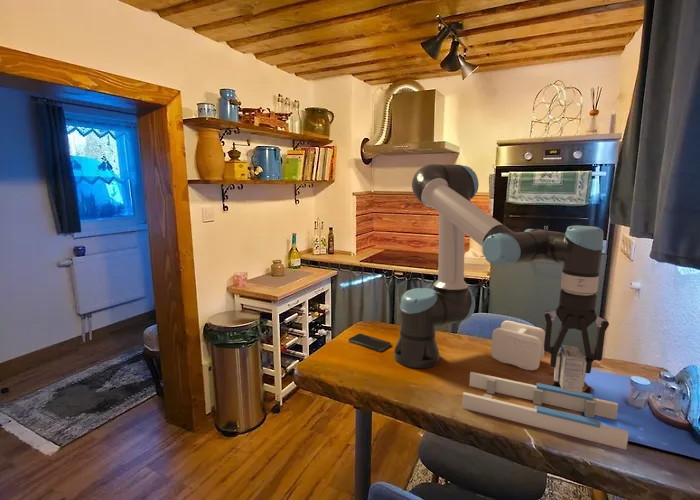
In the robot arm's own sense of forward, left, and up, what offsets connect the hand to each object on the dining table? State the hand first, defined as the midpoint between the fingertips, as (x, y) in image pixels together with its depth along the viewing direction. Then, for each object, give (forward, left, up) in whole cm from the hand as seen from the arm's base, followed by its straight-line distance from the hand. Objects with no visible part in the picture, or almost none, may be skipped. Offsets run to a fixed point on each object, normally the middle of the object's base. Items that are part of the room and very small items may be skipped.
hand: (568, 381), depth 94 cm
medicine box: (0, 0, -1) cm, 1 cm away
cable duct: (-6, 0, -10) cm, 12 cm away
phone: (-62, +20, -11) cm, 66 cm away
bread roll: (+3, +18, -11) cm, 21 cm away
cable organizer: (-12, +29, -11) cm, 33 cm away
